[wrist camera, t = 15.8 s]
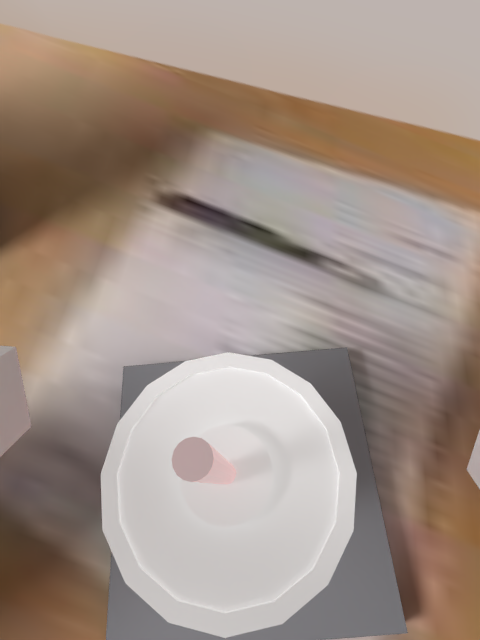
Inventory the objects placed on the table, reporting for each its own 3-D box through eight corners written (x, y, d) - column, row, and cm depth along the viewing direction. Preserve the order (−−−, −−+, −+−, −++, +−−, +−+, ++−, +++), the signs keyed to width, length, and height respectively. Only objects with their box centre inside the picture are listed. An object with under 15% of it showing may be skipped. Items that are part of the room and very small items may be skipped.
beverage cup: (152, 520, 16) (-230, 644, 3) (209, 394, 18) (103, 191, 6) (281, 585, 15) (421, 1140, 2) (324, 441, 17) (513, 317, 5)
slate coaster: (114, 646, 15) (104, 656, 14) (129, 371, 20) (123, 366, 19) (398, 624, 15) (407, 633, 14) (342, 353, 20) (346, 347, 19)
